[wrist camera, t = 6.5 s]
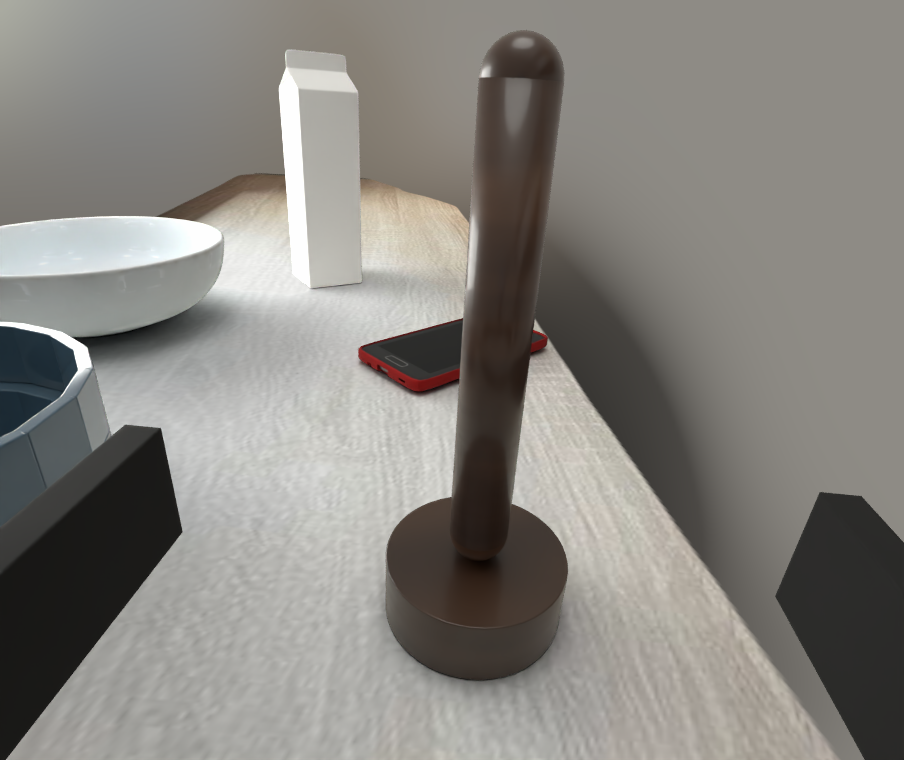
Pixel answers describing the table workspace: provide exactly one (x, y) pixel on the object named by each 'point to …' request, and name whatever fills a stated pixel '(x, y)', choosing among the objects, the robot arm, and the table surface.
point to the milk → (322, 168)
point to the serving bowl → (105, 272)
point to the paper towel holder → (491, 403)
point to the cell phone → (424, 355)
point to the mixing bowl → (44, 411)
